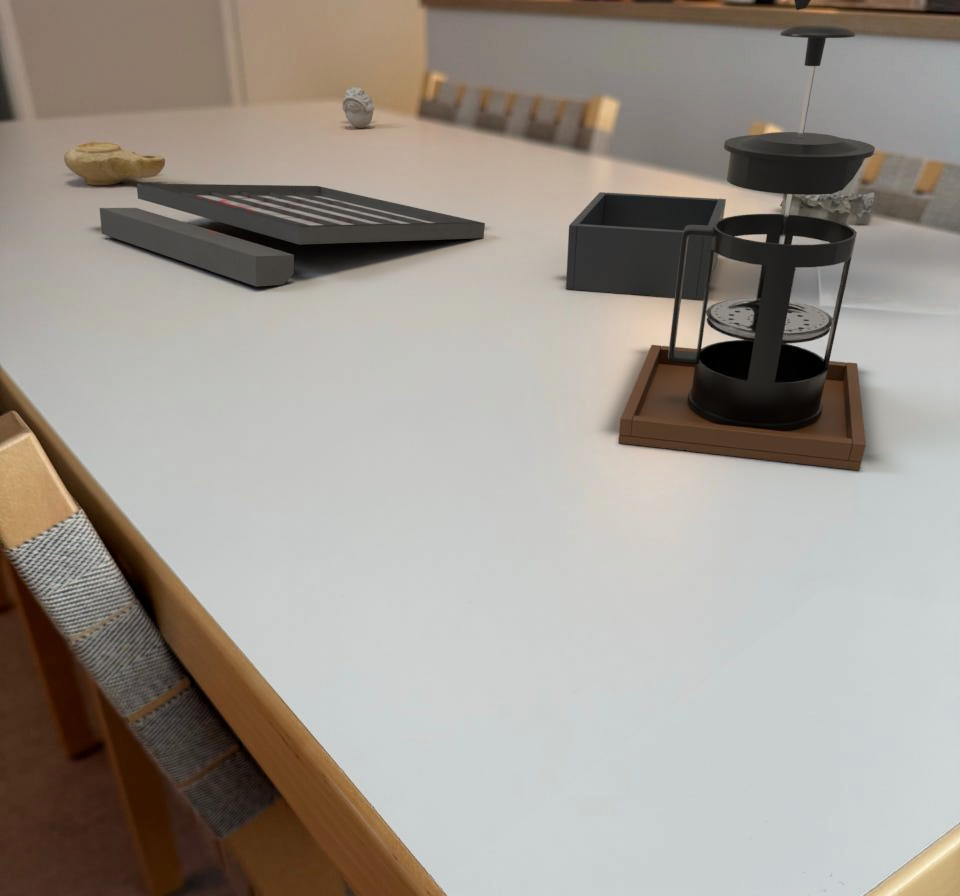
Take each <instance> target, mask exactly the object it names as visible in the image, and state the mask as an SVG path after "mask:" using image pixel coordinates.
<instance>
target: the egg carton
mask: <svg viewBox="0 0 960 896" xmlns="http://www.w3.org/2000/svg"><path fill="white" fill-rule="evenodd" d="M786 197H787V194H783V196H782V200H781V203H780V205H779V207H781V210H780V214H784V209H785V203H786ZM874 201H875V191H871V192H869V193H865V194H862V193H861V192H860V193H858V194H856V195H855V194H854V193H853V192H852V193H848V194H844V193H843V192H842V191H838V192H836V193H833V194H822V195H798V194H793V197H792V203H791V209H790V215H800V216H809V217H816V218H822V219H827V220H832V221H835V222H839V223H842V224H845V225H847V226H857V225H867V224H868V221H869V217H870V213H871V211H872V206H873V203H874Z"/></svg>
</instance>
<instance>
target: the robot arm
mask: <svg viewBox="0 0 960 896" xmlns="http://www.w3.org/2000/svg"><path fill="white" fill-rule="evenodd" d="M811 1H812V0H794V5H795V11H799V10H803V9H806V8H807V7H808V5H810V2H811Z"/></svg>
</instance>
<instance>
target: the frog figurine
mask: <svg viewBox="0 0 960 896" xmlns="http://www.w3.org/2000/svg"><path fill="white" fill-rule="evenodd" d="M345 90H346V91H345V94H344V98H343V99H342V111H343V112H344V114H345V118H346V119H347V121H348V123H349V124H350V125H351V126H353V127H354V128H356V129H364V128H366V127H367V126H369V125H370V123H371V122H372V119H373V115H374V111H375V104H374V102H373V100H372V97H371V96H370V95H369V94H368V93H367V92H365V90H363V89H362V88H361V87H359V86H358V87H356V86H352V88H350V89H349V88H347V89H345Z"/></svg>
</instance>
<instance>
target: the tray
mask: <svg viewBox="0 0 960 896" xmlns="http://www.w3.org/2000/svg"><path fill="white" fill-rule="evenodd" d="M675 349H676V350H677V351H683V352H696V353H697V348H693V347H692V348H691V347H689V348H688V347H679V346H675ZM668 354H669V345H659V344H651V345H650V348H649V349H648V352H647V354H646V357H645V358H644V359H645V360H644V362H643V364H642V366H641V370H640V371H639V373H638V376H637V378H636V381H635V383H634V386H633V388H632V391H631V393H630V395H629V397H628V400H627V402H626V404H625V407H624V409H623V412H622V414H621V416H620V419H619V428H618V429H619V430H618V439H617V440H618V441H617V443H618V444H624V445H634V446H642V447H649V448H659V447H660V448H659V449H667V448H668V449H667V450H676V449H677V450H676V451H684V450H686V452H693V453H702V454H712V455H720V456H727V457H728V456H729V457H737V458H738V457H739V458H746V459H755V460H763V461H764V460H765V461H772V462H773V461H774V462H781V463H790V464H799V465H808V466H817V467H826V468H835V469H844V470H852V471H860V470H861V465H862V461H863V459H864V454H865V450H866V446H867V444H866V434H865V425H864V416H863V405H862V398H861V397H862V395H861V388H860V387H861V386H860V377H859V368H858V367H859V366H858V362H848V361H847V362H845V361H834V360H829V365H828V370H827V374H826V379H825V384H824V388H823V393H822V398H821V402H822V405H823V408H822V413H821V416H820V417H819V419H818V420H817V421H816V422H814V423H812V424H811V425H808V426H806V427H803V428H799V429H794V430H787V431H774V430H765V429H756V428H746V427H737V426H728V425H720V424H717V423H714V422H711V421H709V420H706V419H704V418H702V417H701V416H699V415H697V414H696V413H695V412H694V411H692V410H691V408H690V407H689V405H688V399H687V398H688V393H689V391H690V389H691V388H692V384H693V376H694V369H695V364H685V363H674V362H670V361H669V358H668Z"/></svg>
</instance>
